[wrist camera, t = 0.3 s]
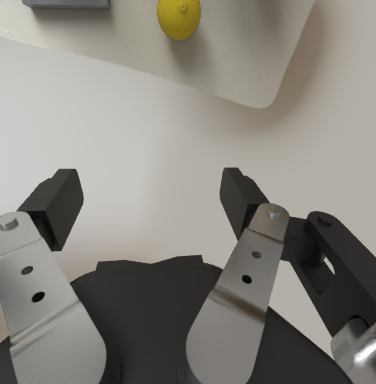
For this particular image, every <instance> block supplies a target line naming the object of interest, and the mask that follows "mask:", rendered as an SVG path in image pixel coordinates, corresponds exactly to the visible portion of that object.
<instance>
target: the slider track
mask: <svg viewBox="0 0 376 384" xmlns="http://www.w3.org/2000/svg"><path fill="white" fill-rule="evenodd" d="M22 2H23V4H24V5H26V6H28V7H31V8H78V9H110V7H109V1H108V0H22Z"/></svg>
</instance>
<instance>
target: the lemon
mask: <svg viewBox="0 0 376 384" xmlns="http://www.w3.org/2000/svg"><path fill="white" fill-rule="evenodd" d="M157 16H158V21H159V24H160V27H161V28H162V30H163V32H164V33H165V34H166V35H167V36H168V37H170V38H172V39H174V40H184V39H187V38H189V37H190V36H191V35H192V34H193V33H194V32H195V31H196V29H197V27H198V25H199V21H200V17H201V8H200V2H199V0H159V2H158V7H157Z"/></svg>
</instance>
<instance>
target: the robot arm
mask: <svg viewBox="0 0 376 384" xmlns="http://www.w3.org/2000/svg"><path fill="white" fill-rule="evenodd" d="M83 198H84V197H83V191H82V188H81V184H80V180H79V176H78V172H77V171H76V169H59V170H58V171H57V172H56V173H55V174H54V176H53V177H52V178H48V179H47V180H45V181H43V182H42V183H40V184H39V185H38V186H37V187H36V188H35V190H34V191H33V192H32V193H31V194H30V196H29V197H28V198H27V199H26V200H25V201H24V203H23V204H22V205H21V206H20V207H19V209H18V210H17V211H16V212H10V213H6V214H3V215H1V216H0V303H1V307H2V311H3V314H4V318H5V321H6V325H7V329H8V332H9V336H8V337H7V338H5V339H4V340H3V341H2V342H1V343H0V384H376V257H375V256H374V255H373V254H372V253H371V252H370V251H369V250H368V249H367V248H366V247H365V246H364V245H363V244H362V243H361V242H360V241H359V240H358V239H357V238H356V237H355V236H354V235H353V234H352V233H351V232H350V231H349V230H348V229H347V228H346V227H345V226H344V225H343V224H342V223H341V222H340V221H339V220H338V219H337V218H335V217H334V216H332V215H330V214H327V213H324V212H319V211H314V212H311V213H309V215H308V217H307V219H301V218H296V217H290V216H289V213H288V212H287V211H286V210H285V209H284V208H283V207H281V206H279V205H276V204H272V203H270V202H269V201H268V199H267V198H266V197H265V195H264V194H263V193H262V192H261V191H260V189H259V187H257V185H256V183H255V182H254V181H253V180H252V179H250V178H249V177H247V176H243V174H242V173H241V171H240V170H239V168H224V171H223V175H222V181H221V187H220V200H221V203H222V205H223V207H224V210H225V212H226V215H227V217H228V219H229V221H230V224H231V226H232V228H233V231H234V233H235V235H236V238H237V240H238V243H237V245H236V247H235V249H234V250H233V252H232V254H231V256H230V258H229V260H228V262H227V264H226V266H225V268H224V270H223V269H221V268H219V267H217V266H214V265H211V264H208V263H203V259H202V255H193V256H180V257H179V256H178V257H174V258H171V259H167V260H164V261H160V262H157V263H153V264H148V263H141V262H135V261H128V260H117V261H103V262H98V264H97V268H96V270H95V271H92V272H90V273H87V274H85V275H83V276H81V277H79V278H77V279H75V280H74V281H72V282H71V283H69V282H68V280H67V278H66V277H65V275H64V273H63V271H62V270H61V268H60V266H59V264H58V263H57V261H56V259H55V257H54V256H53V254H52V251H62V248H63V246H64V244H65V242H66V240H67V237H68V235H69V233H70V231H71V229H72V227H73V225H74V223H75V220H76V218H77V216H78V214H79V212H80V210H81V207H82V205H83V200H84V199H83ZM325 257H327V259H328V260H329V261H330V263H331V264H332V266H333V268H334V271H335V275H334V274H333V273H332V271H331V270H330V269H329V267H328V266H327V265H326V263H325V262H324V259H325ZM280 260H284V261H289V262H290V263H291V265H292V267H293V269H294V270H295V272H296V274H297V276H298V277H299V279H300V281H301V283H302V285H303V286H304V288H305V290H306V292H307V294H308V295H309V297H310V299H311V301H312V303H313V304H314V306H315V308H316V310H317V311H318V313H319V315H320V317H321V319H322V320H323V322H324V324H325V326H326V328H327V329H328V331H329V333H330V335H331V336H332V340H331V351H332V354H333V357H334V359H335V360H333V359H332V358H331V357H330V356H329V355H328V354H326V353H325V352H324V351H323V350H322V349H320V348H319V347H318V346H317V345H315V344H314V343H313V342H312V341H311V340H309V339H308V338H307V337H306V336H304V335H303V334H302V333H301V332H300V331H299V330H297V329H296V328H295V327H294V326H292V325H291V324H290V323H289V322H288V321H286V320H285V319H284V318H283V317H282V316H280V315H279V314H278V313H277V312H275V311H274V310H273V309H272V308H271V307H269V306H268V304H269V300H270V296H271V292H272V288H273V284H274V280H275V276H276V273H277V269H278V265H279V261H280Z"/></svg>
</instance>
